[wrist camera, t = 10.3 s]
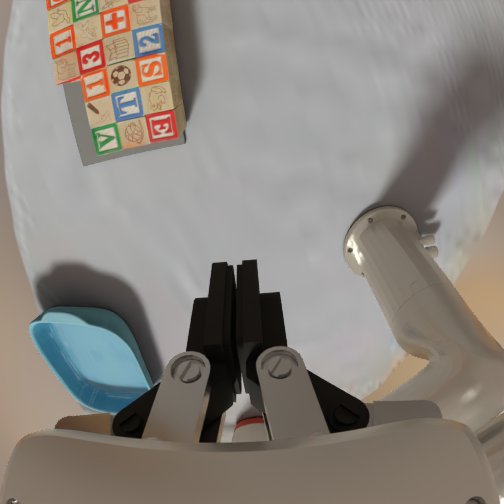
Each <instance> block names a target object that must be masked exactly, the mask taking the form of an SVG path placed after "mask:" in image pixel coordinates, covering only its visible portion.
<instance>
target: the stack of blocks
mask: <svg viewBox="0 0 504 504" xmlns="http://www.w3.org/2000/svg"><path fill="white" fill-rule="evenodd" d="M46 2H47V11H48V24H49V34H50V45H51V53H52V59H53V68H54V74H55V80H56V85H59V84H63V83H67V82H75V81H81V86H82V91H83V97H84V101H85V106H86V111H87V116H88V120H89V125H90V129H91V130H92V136H93V140H94V144H95V148H96V152H97V156H100V155H105V154H108V153H112V152H117V151H121V150H123V149H128V148H133V147H138V146H143V145H149V144H151V143H156V142H162V141H168V140H174V139H178V138H180V137H181V135H182V133H183V131H184V130H185V128H186V127H187V124H186V117H185V111H184V105H183V99H182V92H181V85H180V79H179V71H178V64H177V57H176V50H175V42H174V33H173V23H172V15H171V7H170V0H46Z"/></svg>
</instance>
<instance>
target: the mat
mask: <svg viewBox="0 0 504 504" xmlns="http://www.w3.org/2000/svg"><path fill="white" fill-rule="evenodd" d="M63 87H64V91H65V96H66V101H67V105H68V110H69V114H70V118H71V122H72V127H73V130H74V134H75V138H76V142H77V146H78V149H79V153H80V156H81V160H82V163H83V166H87V165H91V164H95V163H98V162H102V161H106V160H110V159H114V158H119V157H123V156H127V155H131V154H136V153H140V152H145V151H150V150H155V149H160V148H165V147H170V146H176V145H181V144H185V143H186V142H185V137H184V132H183V133H182V135H181V137H180V138H178V139H174V140H168V141H162V142H156V143H151V144H149V145H143V146H138V147H133V148H128V149H123V150H121V151H117V152H112V153H108V154H105V155H100V156H97V152H96V148H95V144H94V140H93V136H92V130H91V129H90V125H89V120H88V116H87V111H86V106H85V101H84V97H83V91H82V86H81V81H75V82H67V83H63Z"/></svg>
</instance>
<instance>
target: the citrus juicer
mask: <svg viewBox="0 0 504 504" xmlns="http://www.w3.org/2000/svg"><path fill="white" fill-rule="evenodd" d="M258 441H269V440H268V436H267V432H266V428H265V424H264V419H263V418H250V419H246V420H242V421H241V422H239V423H238V424H237V426H236V428H235V430H234V434H233V438H232V443H235V442H258Z"/></svg>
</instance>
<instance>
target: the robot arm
mask: <svg viewBox="0 0 504 504" xmlns="http://www.w3.org/2000/svg"><path fill="white" fill-rule="evenodd" d="M434 243H435V237H434V236H433V235H428V236H424V237H422V236H421V235H420V234H419V233H418V229H417V225H416V223H415V221H414V219H413V218H412V217H411V216H410V214H409V213H408V212H406V211H405V210H403V209H401V208H398V207H394V206H384V207H379V208H376V209H373V210H371V211H369V212H367V213H366V214H364V215H363V216H361V217H360V218H359V219H358V220H357V221H356V222H355V223H354V224H353V226H352V227H351V228H350V230H349V232H348V234H347V235H346V238H345V241H344V248H343V251H344V257H345V260H346V262H347V264H348V266H349V268H350V269H351V270H352V271H353V272H354V273H356V274H357V275H359V276H362V277H366V279H367V281H368V283H369V285H370V287H371V289H372V291H373V293H374V295H375V297H376V299H377V301H378V303H379V305H380V307H381V309H382V311H383V314H384V316H385V318H386V320H387V322H388V324H389V326H390V328H391V331H392V333H393V335H394V337H395V339H396V341H397V343H398V344H399V346H400V347H401V348H402V349H403V350H404V351H405V352H407V353H409V354H411V355H412V356H415V357H418V358H421V359H425V360H429V361H430V362H429V364H428V365H427V366H426V367H425V368H424V369H423V370H421V371H420V372H419V373H418V374H417V375H415V376H414V377H413V378H411V379H410V380H408V381H407V382H405V383H404V384H403V385H401V386H400V387H398V388H397V389H395V390H394V391H392V392H390V393H389V394H387V395H386V396H384V397H383V398H381V399H380V400H379V401H373V403H363V402H361V401H360V400H359V399H357V398H355V397H354V396H352V395H350V394H348V393H346V392H345V391H343V390H341V389H339V388H338V387H336V386H334V385H332V384H331V383H329V382H327V381H325V380H324V379H322V378H320V377H319V376H317V375H315V374H314V373H312V372H310V371H309V370H307V369H306V367H305V364H304V361H303V359H302V357H301V355H300V354H299V353H298V352H297V351H296V350H294V349H292V348H289V347H287V339H286V332H285V325H284V318H283V311H282V304H281V297H280V292H273V293H261V294H260V291H259V280H258V269H257V259H256V260H244V261H242V265H237V289H236V282H235V275H234V269H233V265H229V266H228V264H227V262H219V263H212V270H211V278H210V286H209V294H208V297H206V298H195V300H194V304H193V310H192V316H191V322H190V328H189V335H188V341H187V348H186V352H183V353H180V354H178V355H176V356H174V357H173V358H172V359H171V360H170V361H169V363H168V365H167V367H166V369H165V372H164V375H163V378H162V381H161V382H160V383H158V384H157V385H156V386H154V387H153V388H151V389H150V390H149V391H147V392H146V393H144V394H143V395H142V396H140V397H139V398H137V399H136V400H135V401H133V402H132V403H130V404H129V405H127V406H126V407H125V408H123V409H122V410H120V411H119V412H118V413H117V414H115V415H112V414H111V413H102V414H92V415H80V416H67V417H64V418H62V419H60V420H59V421H58V422H57V424H56V425H55V429H49V430H41V431H37V432H34V433H31V434H28V435H26V436H24V437H23V438H22V439H21V440H20V441H19V442H18V443H17V444H16V446H15V448H14V450H13V452H12V454H11V457H10V459H9V462H8V465H7V468H6V471H5V475H4V479H3V483H2V487H1V491H0V504H504V413H503V414H500V413H501V412H502V411H503V410H504V349H503V348H502V347H501V345H500V344H499V343H498V342H497V341H496V340H495V339H494V337H493V336H492V335H491V334H490V333H489V332H488V331H487V329H486V328H485V327H484V326H483V325H482V323H481V322H480V321H479V320H478V319H477V317H476V316H475V315H474V313H473V312H472V311H471V309H470V308H469V306H468V305H467V304H466V302H465V301H464V300H463V298H462V297H461V295H460V294H459V293H458V291H457V290H456V288H455V287H454V286H453V285H452V283H451V282H450V280H449V279H448V278H447V276H446V275H445V274H444V272H443V271H442V270H441V268H440V267H439V266H438V264H437V263H436V262H435V261H434V259H433V258H436V257H438V248H437V247H436V246H430V247H425V248H424V247H423V245H425V244H427V245H428V244H434ZM241 372H242V377H243V382H244V387H245V392H246V394H247V393H249V395H250V400H251V404H252V405H253V406H255V407H256V408H257V409H259V410H260V411H261V412H262V415H263V419H264V424H265V428H266V432H267V436H268V440H269V441H258V442H235V443H220V442H221V437H222V432H223V427H224V422H225V417H226V410H228V409H229V408H230V407H231V406H232V405H233V402H236V394H241ZM499 414H500V415H499ZM498 415H499V416H498Z"/></svg>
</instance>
